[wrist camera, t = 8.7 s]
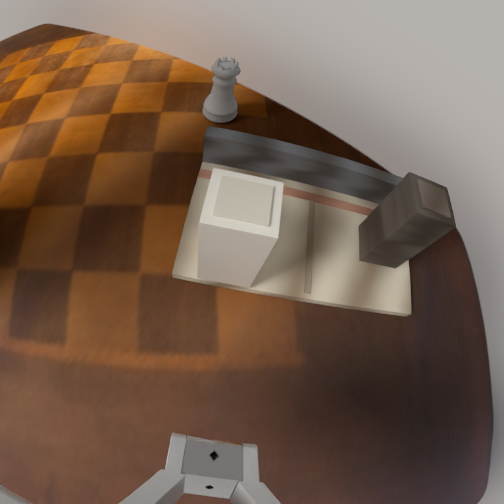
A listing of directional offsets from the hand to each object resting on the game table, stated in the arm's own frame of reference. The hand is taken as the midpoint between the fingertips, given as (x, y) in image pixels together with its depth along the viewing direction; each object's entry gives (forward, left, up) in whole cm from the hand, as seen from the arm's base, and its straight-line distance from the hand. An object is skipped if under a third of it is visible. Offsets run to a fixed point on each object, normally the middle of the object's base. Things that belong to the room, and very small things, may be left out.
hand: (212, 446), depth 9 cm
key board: (+7, +18, -15) cm, 24 cm away
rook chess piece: (-5, +33, -15) cm, 36 cm away
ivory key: (0, +13, -13) cm, 18 cm away
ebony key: (+15, +17, -13) cm, 27 cm away
